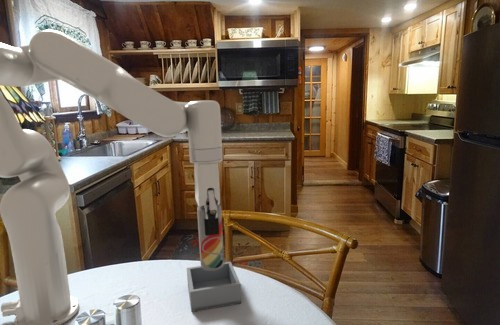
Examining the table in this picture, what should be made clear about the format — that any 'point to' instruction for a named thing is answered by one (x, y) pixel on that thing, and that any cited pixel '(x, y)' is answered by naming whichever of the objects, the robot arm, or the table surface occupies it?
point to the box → (213, 287)
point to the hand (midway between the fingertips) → (210, 228)
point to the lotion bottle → (210, 242)
